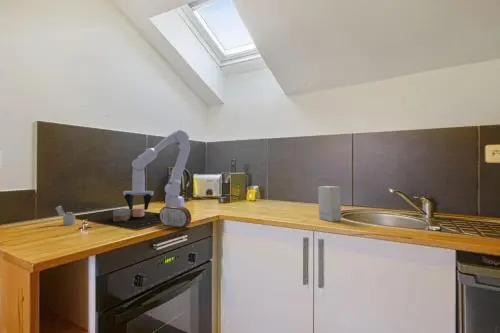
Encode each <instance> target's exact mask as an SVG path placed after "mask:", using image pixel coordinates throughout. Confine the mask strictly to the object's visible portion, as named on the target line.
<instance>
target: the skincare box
mask: <svg viewBox="0 0 500 333" xmlns="http://www.w3.org/2000/svg"><path fill="white" fill-rule="evenodd" d="M317 190H318V191H317V195H318V220H321V219H322V221H327V222H331V223H334V222H338V221H340V222H341V221H342V209H341V208H342V206H341V186H337V185H336V186H333V185H324V186H317Z"/></svg>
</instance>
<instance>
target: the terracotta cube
mask: <svg viewBox="0 0 500 333" xmlns="http://www.w3.org/2000/svg"><path fill="white" fill-rule="evenodd" d="M144 216H145V209H144V207H135V208H133V209H132V217H133V218H134V217H135V218H142V217H144Z"/></svg>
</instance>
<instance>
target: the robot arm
mask: <svg viewBox="0 0 500 333" xmlns="http://www.w3.org/2000/svg"><path fill="white" fill-rule="evenodd" d="M189 138H190V136H189V134H188V133H187V131H186V130H183V129H178V130H177V131H173V132H172V133H170V134H169V135H168V136H165V137H164V138H163V139H162V140H161V141H160V142H159V143H158V144H156V145H155V146H154V147H148V148H146V149H144V152H143V153H141V154H139V155H138V156H137V158H135V159H134V160H132V162H131V167H132V174H131V175H132V177H131V178H132V180H131V181H132V185H131V186H132V189H131V190H124V191H123V192H122V194H123V196H124V199H125V201H126V202H127V205H128V209H131V210H132V211H133V209H134V208H133V207H134V196H143V201H144V203H143V204H144V207H143V208H144V211H147V210H149V205H150V202H151V200H152V197H153V196H154V194H155V193H154V190H146V189H145V188H146V185H145V180H146V177H145V176H146V174H145V173H146V172H145V168H146V165H149V164H150V163H151V162H153V160H155V159H156V158H157V157H158V153H159V152H160V151H162V150H163V149H164V148H165V147H168V145H170V144H173V143H175V144H176V145H177V147H178V148H179V153H178V155H177V158H176V162H175V165H174V168H173V171H172V173H171V176H170V179H169V180H168V183H166V185H165V186H164V192H165V197H164V198H165V199H164V200H165V202H164V203H165V206H164V207H166V206H179V207H185V198H184V196H180V193H181V185H182V182H181V179H182V176H183V173H184V171H185V167H186V163H187V161H188V158H189V155H190V151H191V144H190V139H189Z"/></svg>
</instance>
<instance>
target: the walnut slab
mask: <svg viewBox="0 0 500 333" xmlns="http://www.w3.org/2000/svg"><path fill="white" fill-rule="evenodd" d="M112 216H113V215H112ZM112 218H113V219H112V220H113V221H112V222H127V221H128V220H130V219H131V214H130V215H127V216H113V217H112Z"/></svg>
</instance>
